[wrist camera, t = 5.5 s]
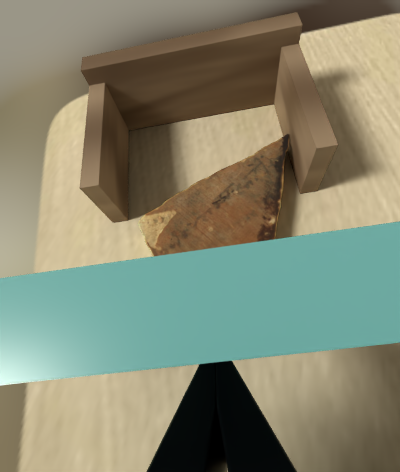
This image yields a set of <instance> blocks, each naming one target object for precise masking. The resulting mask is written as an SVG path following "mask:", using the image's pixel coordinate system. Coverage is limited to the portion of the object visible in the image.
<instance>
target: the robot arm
mask: <svg viewBox="0 0 400 472" xmlns="http://www.w3.org/2000/svg"><path fill="white" fill-rule="evenodd" d="M227 468H228V472H297V471H296V469H295V468H294V466H293V464H292V462H291V461H290V459H289V457H288V456H287V454H286V452H285V451H284V449H283V447H282V445H281V444H280V442H279V440H278V439H277V437H276V435H275V434H274V432H273V430H272V428H271V427H270V425H269V423H268V422H267V420H266V418H265V416H264V415H263V413H262V411H261V410H260V408H259V406H258V405H257V403H256V401H255V399H254V398H253V396H252V394H251V393H250V391H249V389H248V388H247V386H246V384H245V382H244V381H243V379H242V377H241V376H240V374H239V372H238V371H237V369H236V367H235V365H234V364H233V362H232V361H223V362H213V363H204V364H200V365H199V367H198V369H197V371H196V373H195V375H194V377H193V379H192V381H191V383H190V385H189V387H188V389H187V391H186V393H185V395H184V397H183V399H182V401H181V403H180V405H179V407H178V409H177V411H176V413H175V415H174V417H173V419H172V421H171V423H170V425H169V427H168V429H167V431H166V433H165V435H164V437H163V439H162V441H161V443H160V445H159V447H158V449H157V451H156V454H155V456H154V458H153V460H152V462H151V464H150V466H149V468H148V470H147V472H227Z"/></svg>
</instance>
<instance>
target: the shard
mask: <svg viewBox="0 0 400 472" xmlns="http://www.w3.org/2000/svg"><path fill="white" fill-rule="evenodd" d="M288 148H289V134H286V135H285V136H284V137H282V138H280V139H279V140H277V141H276V142H273V143H271V144H270V145H268V146H265V147H264V148H262V149H261V150H259V151H258V152H256V153H255V154H254V155H252V156H249V157H248V158H245V159H244V160H242V161H240V162H237V163H235V164H233V165H231V166H228V167H226V168H224V169H221V170H220V171H218V172H216V173H214V174H213V175H211V176H209V177H208V178H205V179H202V180H200V181H198V182H197V183H195V184H193V185H191V186H190V187H189V188H188V189H186V190H184V191H181V192H179V193H177V194H176V195H174V196H173V197H171V198H169V199H168V200H166V201H165V202H164V203H163V205H161V206H159V207H158V208H156V209H154V210H152V211H150V212H148V213H146V214H145V215H143V217H142V218H141V219H140V221H139V222H138V225H139V228H140V230H141V232H142V233H143V236H144V238H145V242H146V244H147V246H148V248H149V250H150V252H151V254H152V256H153V257H154V256H161V255H168V254H175V253H182V252H189V251H196V250H203V249H210V248H217V247H225V246H232V245H239V244H246V243H253V242H260V241H267V240H274V239H275V237H276V228H277V221H278V216H279V212H280V208H281V199H282V192H283V185H284V179H283V177H284V160H285V156H286V152H287V150H288Z"/></svg>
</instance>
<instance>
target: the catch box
mask: <svg viewBox="0 0 400 472" xmlns="http://www.w3.org/2000/svg"><path fill="white" fill-rule="evenodd" d="M301 29H302V23H301V21H300V18H299V16H298V13H297V12H296V13H291V14H287V15H282V16H277V17H273V18H267V19H263V20H258V21H253V22H248V23H244V24H239V25H234V26H230V27H225V28H220V29H215V30H210V31H206V32H202V33H196V34H192V35H187V36H182V37H177V38H173V39H168V40H163V41H158V42H153V43H149V44H144V45H140V46H134V47H130V48H125V49H121V50H115V51H111V52H106V53H101V54H97V55H92V56H87V57H83V58H82V66H81V72H82V73H83V75H84V77H85V79H86V81H87V82H88V84H89V95H88V106H87V116H86V127H85V138H84V148H83V159H82V169H81V180H80V189H81V190H82V191H83V192H84V193H85V194H86V195H87V196H88V197H89V198H90V199H91V200H92V201H93V202H94V203H95V205H96V206H97V207H98V208H99V209H100V210H101V211H102V212H103V213H104V214H105V215H106V216H107V217H108V218H109V219H110V220H111V221H112V222H120V221H126V220H128V166H129V130H134V129H140V128H145V127H151V126H156V125H162V124H167V123H172V122H178V121H183V120H189V119H194V118H200V117H205V116H211V115H216V114H221V113H227V112H232V111H238V110H243V109H249V108H254V107H259V106H265V105H270V104H274V105H275V109H276V112H277V116H278V119H279V123H280V126H281V129H282V133H283V136H285V135H286V134H289V148H288V154H289V157H290V160H291V164H292V167H293V171H294V174H295V178H296V181H297V184H298V188H299V191H300V193H307V192H313V191H317V190H318V188H319V185H320V183H321V181H322V179H323V177H324V175H325V172H326V170H327V168H328V166H329V164H330V162H331V159H332V157H333V155H334V153H335V151H336V149H337V146H338V143H337V140H336V138H335V135H334V133H333V130H332V127H331V125H330V122H329V120H328V117H327V115H326V112H325V109H324V107H323V104H322V102H321V99H320V97H319V94H318V91H317V89H316V86H315V84H314V81H313V79H312V76H311V74H310V71H309V68H308V66H307V63H306V61H305V58H304V56H303V53H302V50H301V48H300V45H299V40H300V35H301Z"/></svg>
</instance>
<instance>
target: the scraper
mask: <svg viewBox="0 0 400 472" xmlns="http://www.w3.org/2000/svg"><path fill="white" fill-rule="evenodd" d="M392 343H400V222H393V223H386V224H379V225H372V226H365V227H358V228H351V229H344V230H337V231H330V232H323V233H316V234H309V235H302V236H295V237H288V238H281V239H274V240H267V241H260V242H253V243H246V244H239V245H232V246H225V247H217V248H210V249H203V250H196V251H189V252H182V253H175V254H168V255H161V256H154V257H147V258H140V259H133V260H126V261H119V262H112V263H105V264H98V265H91V266H84V267H77V268H70V269H63V270H56V271H49V272H42V273H35V274H28V275H21V276H14V277H7V278H0V385H7V384H16V383H25V382H35V381H44V380H54V379H63V378H72V377H82V376H91V375H101V374H110V373H119V372H129V371H138V370H148V369H157V368H166V367H176V366H185V365H195V364H204V363H213V362H223V361H232V360H241V359H251V358H260V357H270V356H279V355H288V354H298V353H307V352H317V351H326V350H335V349H345V348H354V347H364V346H373V345H382V344H392Z"/></svg>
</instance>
